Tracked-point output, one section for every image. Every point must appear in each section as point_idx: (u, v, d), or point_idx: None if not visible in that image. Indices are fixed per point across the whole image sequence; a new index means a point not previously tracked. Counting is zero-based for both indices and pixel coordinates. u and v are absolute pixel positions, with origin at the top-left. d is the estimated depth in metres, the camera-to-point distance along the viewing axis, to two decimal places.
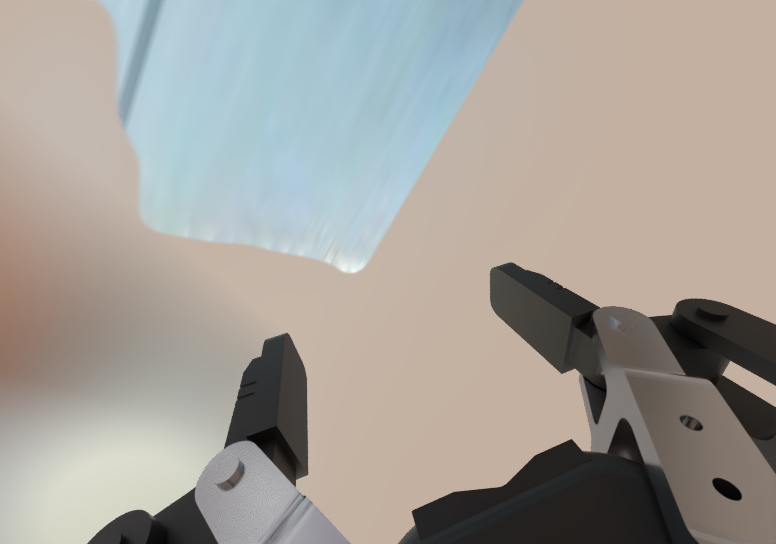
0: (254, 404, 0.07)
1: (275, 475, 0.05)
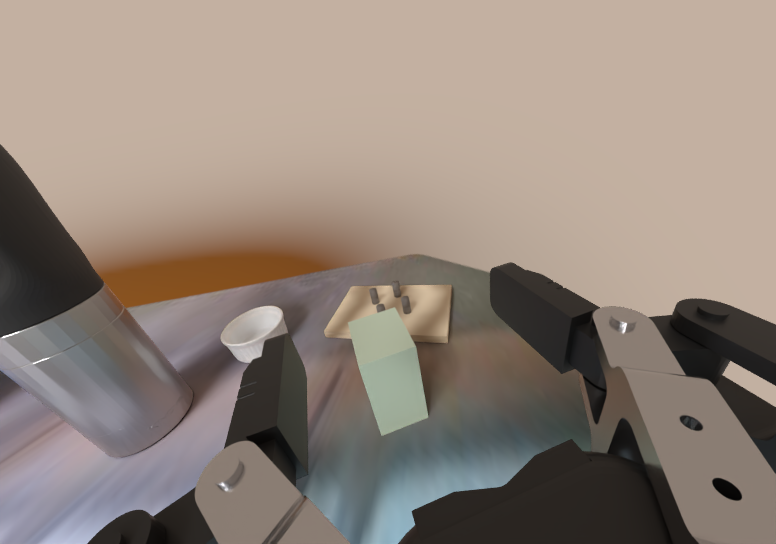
0: (254, 404, 0.07)
1: (275, 475, 0.05)
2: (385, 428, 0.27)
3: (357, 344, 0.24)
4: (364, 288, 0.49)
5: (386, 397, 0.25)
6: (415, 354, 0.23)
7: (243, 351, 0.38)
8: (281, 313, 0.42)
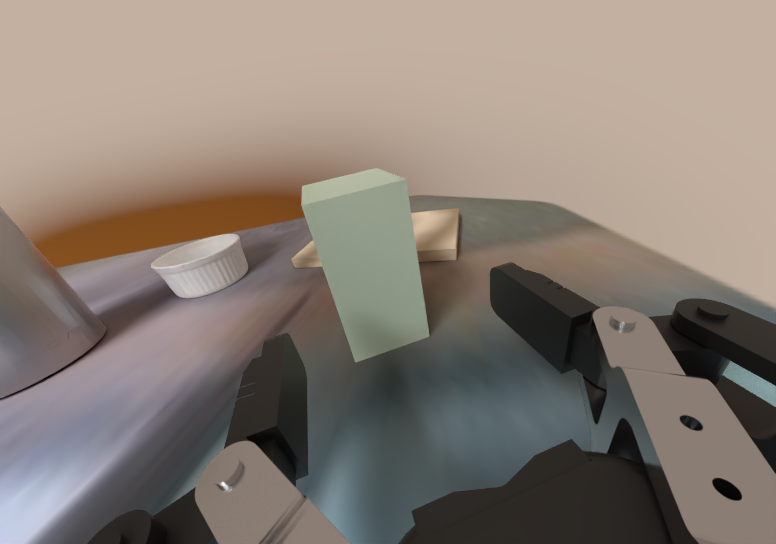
0: (254, 404, 0.07)
1: (275, 475, 0.05)
2: (360, 348, 0.17)
3: (309, 193, 0.14)
4: None
5: (358, 286, 0.15)
6: (405, 198, 0.13)
7: (179, 278, 0.28)
8: (237, 238, 0.32)
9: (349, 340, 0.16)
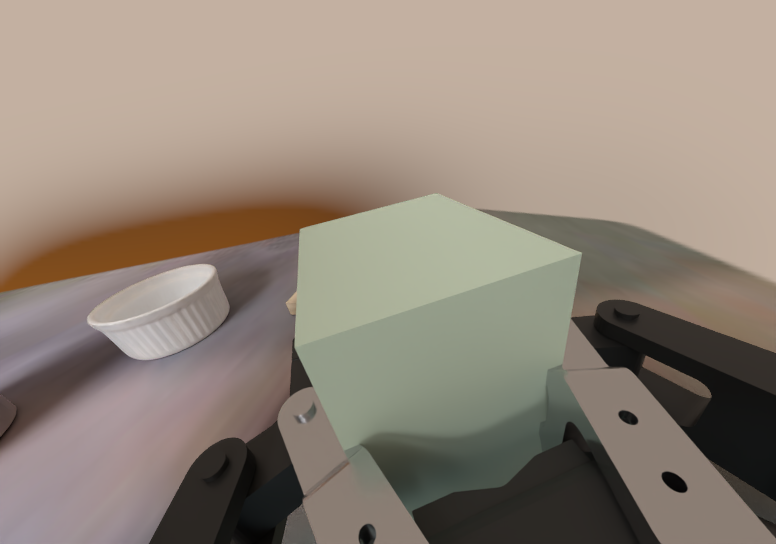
0: None
1: None
2: None
3: (315, 268, 0.06)
4: None
5: (425, 475, 0.07)
6: (567, 298, 0.05)
7: (125, 337, 0.20)
8: (212, 272, 0.23)
9: None
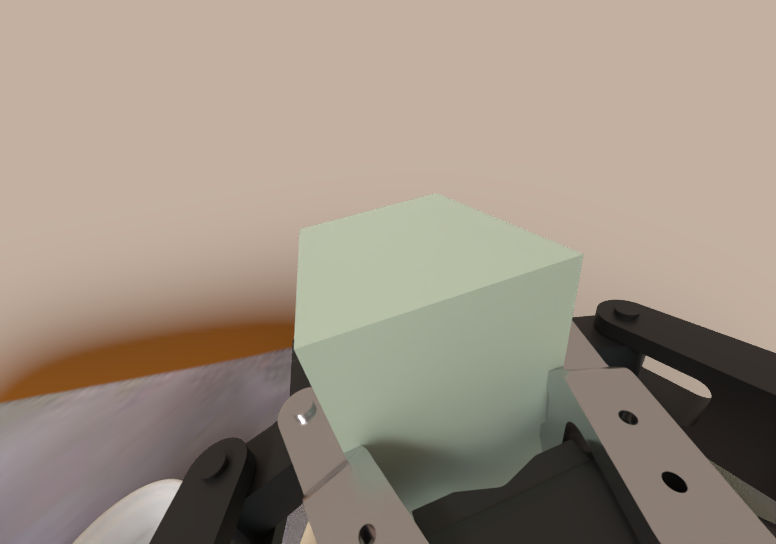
0: None
1: None
2: None
3: (314, 269, 0.06)
4: None
5: (425, 476, 0.06)
6: (568, 299, 0.05)
7: None
8: None
9: None
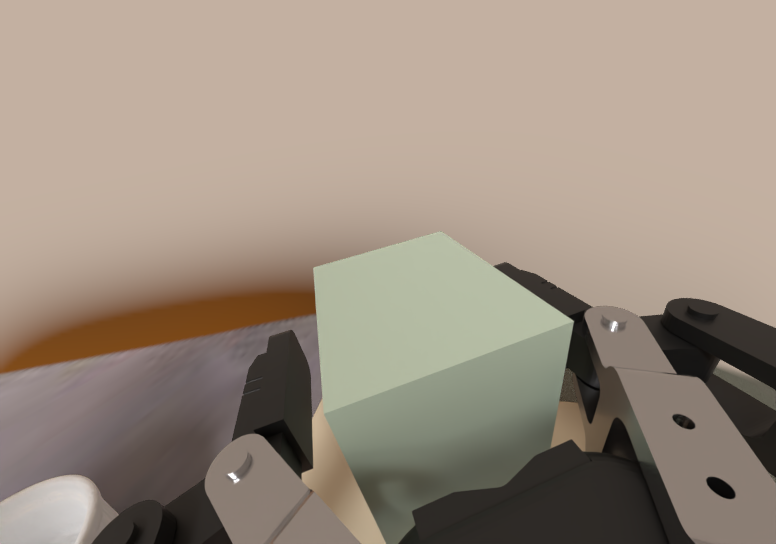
0: (261, 399, 0.07)
1: (283, 466, 0.05)
2: None
3: (332, 320, 0.07)
4: None
5: None
6: (561, 356, 0.06)
7: None
8: (79, 537, 0.12)
9: None
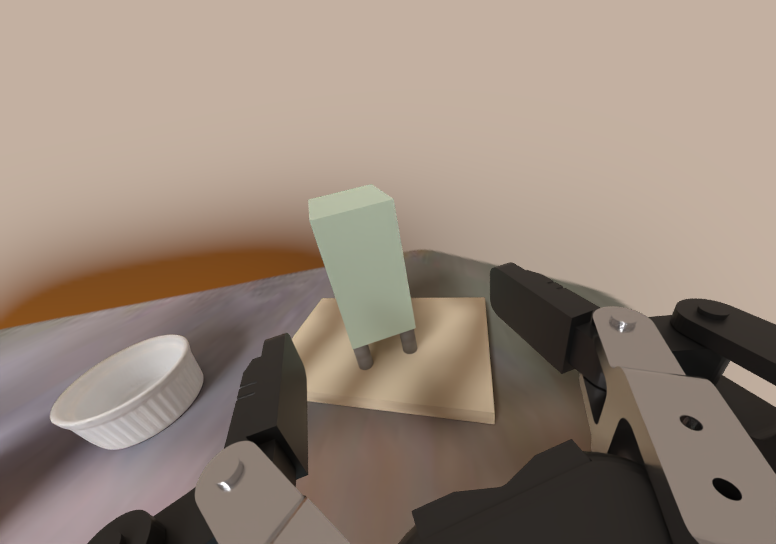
0: (254, 404, 0.07)
1: (275, 475, 0.05)
2: (357, 337, 0.20)
3: (314, 208, 0.18)
4: None
5: (354, 285, 0.18)
6: (393, 214, 0.17)
7: (88, 433, 0.19)
8: (183, 351, 0.23)
9: (347, 330, 0.19)
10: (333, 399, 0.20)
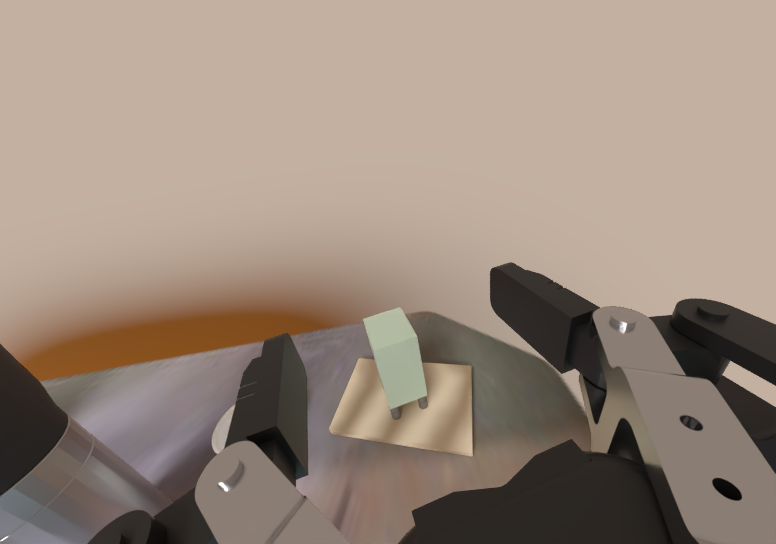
0: (254, 404, 0.07)
1: (275, 475, 0.05)
2: (393, 403, 0.33)
3: (371, 335, 0.31)
4: (373, 363, 0.44)
5: (394, 377, 0.32)
6: (416, 342, 0.30)
7: None
8: None
9: (388, 399, 0.33)
10: (378, 439, 0.34)
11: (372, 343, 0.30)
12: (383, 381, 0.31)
